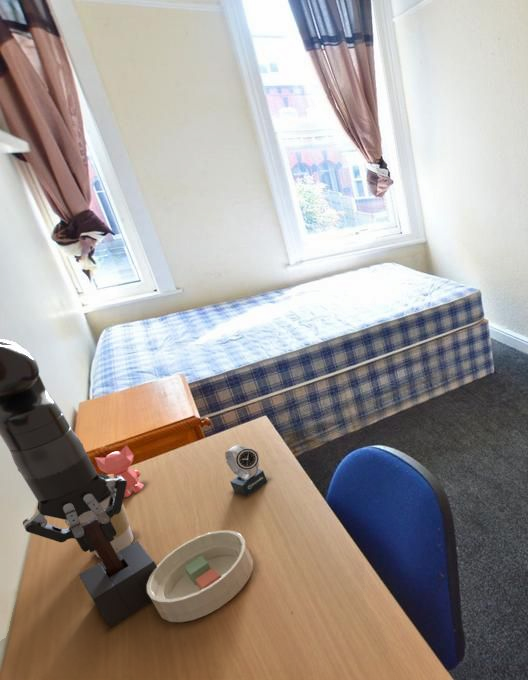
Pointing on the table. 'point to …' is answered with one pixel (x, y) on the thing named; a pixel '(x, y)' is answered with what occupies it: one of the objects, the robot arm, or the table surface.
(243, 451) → the watch
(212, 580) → the terracotta block
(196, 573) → the sage block
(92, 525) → the chopsticks
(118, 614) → the stand
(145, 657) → the table surface
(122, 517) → the coffee cup
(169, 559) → the bowl
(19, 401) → the robot arm
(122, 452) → the cat figurine
